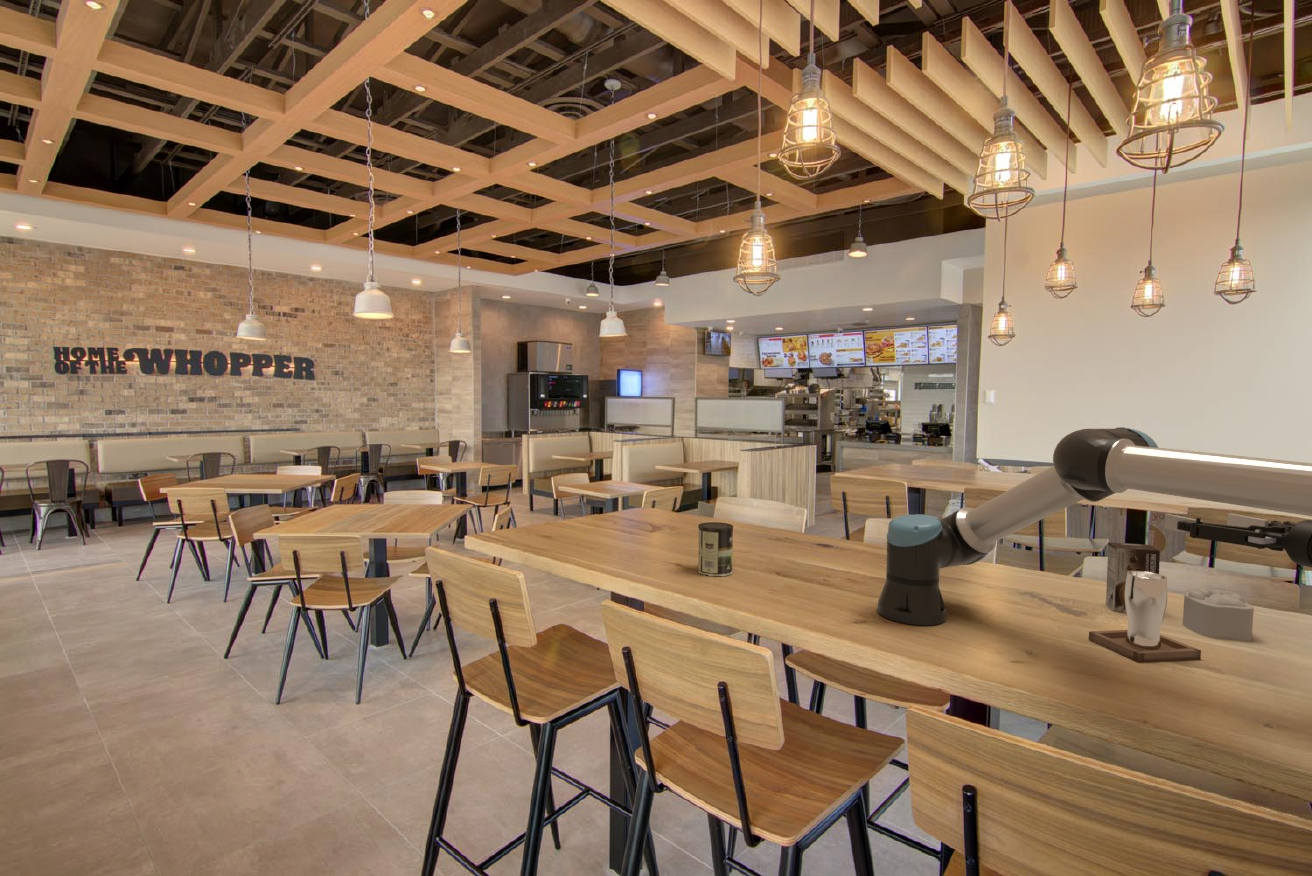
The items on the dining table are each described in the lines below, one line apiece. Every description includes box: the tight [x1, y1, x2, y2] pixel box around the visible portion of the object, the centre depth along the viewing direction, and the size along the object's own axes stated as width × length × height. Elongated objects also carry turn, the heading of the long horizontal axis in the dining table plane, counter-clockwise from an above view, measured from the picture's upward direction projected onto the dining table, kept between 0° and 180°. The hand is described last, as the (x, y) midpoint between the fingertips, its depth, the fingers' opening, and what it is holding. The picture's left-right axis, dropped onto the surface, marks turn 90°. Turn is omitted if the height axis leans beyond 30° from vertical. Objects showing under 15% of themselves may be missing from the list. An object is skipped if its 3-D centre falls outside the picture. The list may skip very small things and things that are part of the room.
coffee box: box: [1105, 541, 1161, 614], centre depth 156 cm, size 9×6×16 cm
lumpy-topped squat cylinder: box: [1182, 587, 1254, 642], centre depth 143 cm, size 10×13×9 cm
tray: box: [1088, 629, 1202, 663], centre depth 131 cm, size 14×12×2 cm
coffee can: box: [697, 521, 734, 577], centre depth 187 cm, size 10×10×14 cm
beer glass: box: [1125, 571, 1169, 651], centre depth 130 cm, size 7×7×15 cm
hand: (1197, 520), depth 120 cm, fingers open, 13 cm apart
